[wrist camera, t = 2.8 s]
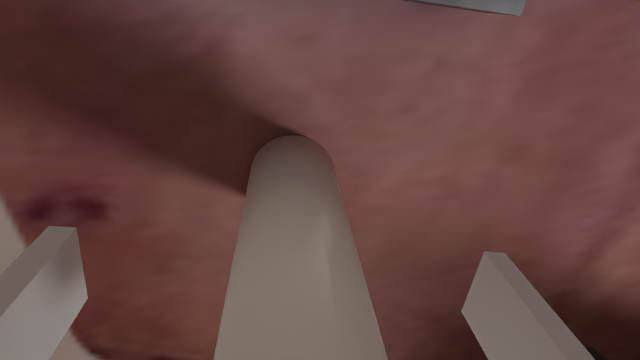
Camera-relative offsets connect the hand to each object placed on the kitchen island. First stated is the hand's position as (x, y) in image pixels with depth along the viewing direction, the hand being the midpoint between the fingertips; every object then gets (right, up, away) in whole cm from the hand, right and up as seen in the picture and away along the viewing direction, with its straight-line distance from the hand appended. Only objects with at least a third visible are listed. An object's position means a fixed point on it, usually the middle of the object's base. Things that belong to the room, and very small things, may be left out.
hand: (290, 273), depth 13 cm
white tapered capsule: (-1, +3, +8) cm, 9 cm away
